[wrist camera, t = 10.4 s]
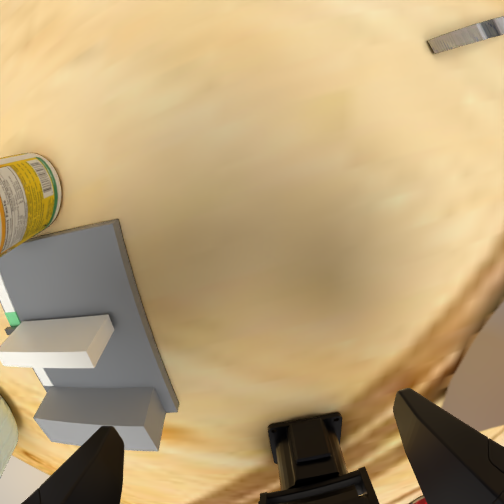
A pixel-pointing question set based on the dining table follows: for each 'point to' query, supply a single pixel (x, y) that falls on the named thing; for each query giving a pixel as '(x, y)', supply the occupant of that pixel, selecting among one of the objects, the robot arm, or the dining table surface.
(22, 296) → the gauge base
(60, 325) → the gauge paddle
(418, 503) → the soda can
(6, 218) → the supplement bottle
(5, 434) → the vase
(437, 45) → the caliper
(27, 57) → the dining table surface
